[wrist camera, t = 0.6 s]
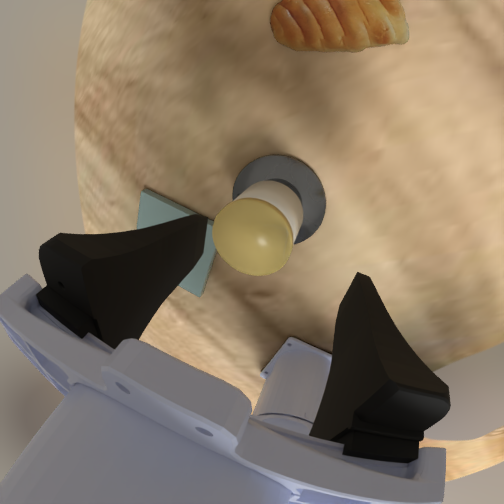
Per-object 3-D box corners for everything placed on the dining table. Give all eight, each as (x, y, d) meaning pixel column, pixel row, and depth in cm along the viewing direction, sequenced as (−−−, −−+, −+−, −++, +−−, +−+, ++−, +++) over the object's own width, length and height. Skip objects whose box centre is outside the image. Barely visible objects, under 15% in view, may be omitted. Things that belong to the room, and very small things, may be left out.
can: (287, 253, 21) (272, 288, 17) (230, 224, 22) (204, 253, 18) (315, 199, 18) (305, 225, 15) (251, 168, 19) (225, 187, 15)
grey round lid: (301, 257, 24) (296, 273, 22) (223, 219, 24) (211, 231, 22) (342, 182, 19) (341, 191, 17) (251, 139, 20) (240, 144, 18)
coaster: (203, 293, 30) (199, 297, 29) (138, 256, 31) (134, 259, 30) (224, 226, 25) (221, 230, 24) (146, 188, 26) (141, 191, 25)
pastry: (295, 74, 17) (283, 66, 14) (260, 5, 14) (242, -12, 11) (412, 45, 12) (425, 33, 9) (372, -26, 10) (375, -48, 7)
